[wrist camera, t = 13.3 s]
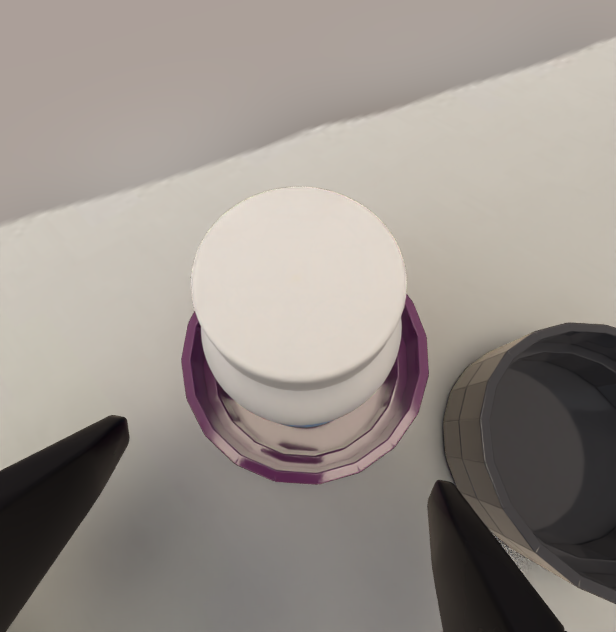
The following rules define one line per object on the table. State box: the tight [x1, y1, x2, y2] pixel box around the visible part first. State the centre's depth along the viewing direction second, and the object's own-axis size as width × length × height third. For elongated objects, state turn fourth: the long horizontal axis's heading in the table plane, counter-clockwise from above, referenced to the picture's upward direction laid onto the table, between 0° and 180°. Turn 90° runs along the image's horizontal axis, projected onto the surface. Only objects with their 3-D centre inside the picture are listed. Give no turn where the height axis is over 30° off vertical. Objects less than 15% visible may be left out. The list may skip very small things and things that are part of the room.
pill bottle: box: [191, 186, 407, 428], centre depth 12 cm, size 6×6×11 cm
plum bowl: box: [181, 294, 429, 485], centre depth 16 cm, size 10×10×4 cm
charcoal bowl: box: [443, 323, 616, 604], centre depth 15 cm, size 10×10×4 cm
